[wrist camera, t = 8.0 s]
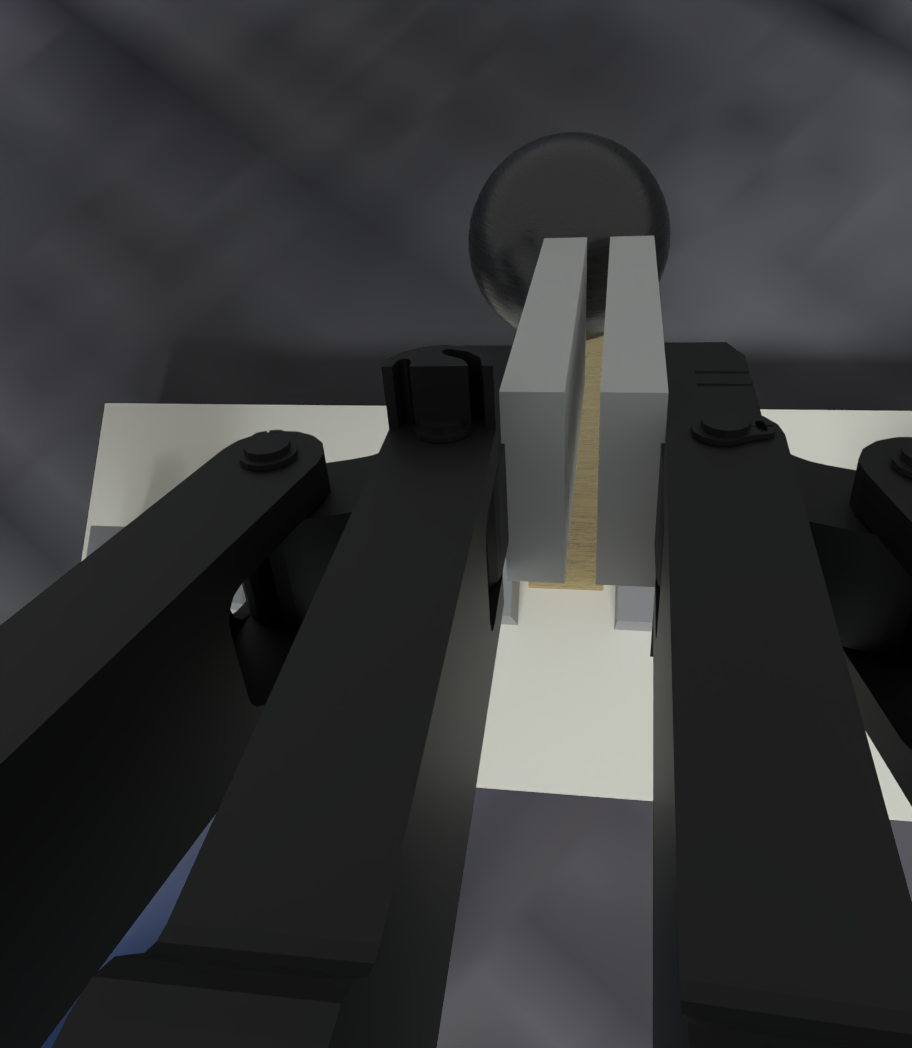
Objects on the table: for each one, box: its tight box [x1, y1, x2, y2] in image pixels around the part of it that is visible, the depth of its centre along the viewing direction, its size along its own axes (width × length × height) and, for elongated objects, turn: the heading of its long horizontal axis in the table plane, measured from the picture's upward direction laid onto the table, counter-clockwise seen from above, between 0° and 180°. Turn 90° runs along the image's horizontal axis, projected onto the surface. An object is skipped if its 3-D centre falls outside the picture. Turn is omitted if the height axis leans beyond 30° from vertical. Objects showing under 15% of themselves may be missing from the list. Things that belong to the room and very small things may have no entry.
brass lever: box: [469, 132, 670, 591], centre depth 20 cm, size 4×4×12 cm
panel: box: [81, 403, 912, 821], centre depth 25 cm, size 11×30×5 cm, turn 86°
